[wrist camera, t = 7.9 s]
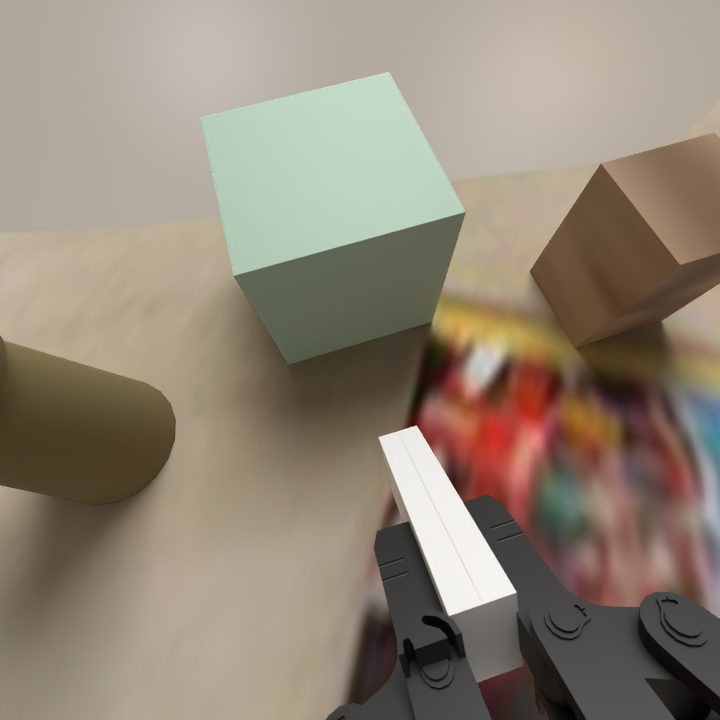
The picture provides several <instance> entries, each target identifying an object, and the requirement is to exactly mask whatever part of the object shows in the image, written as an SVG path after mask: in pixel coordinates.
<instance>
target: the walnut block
mask: <svg viewBox="0 0 720 720" xmlns="http://www.w3.org/2000/svg"><path fill="white" fill-rule="evenodd" d="M530 272H531V274H532V275H533V277H534V279H535V280H536V282H537V284H538V286H539V287H540V289H541V291H542V292H543V294H544V296H545V298H546V299H547V301H548V303H549V304H550V306H551V308H552V310H553V311H554V313H555V315H556V316H557V318H558V320H559V321H560V323H561V325H562V327H563V328H564V330H565V332H566V333H567V335H568V337H569V339H570V340H571V342H572V344H573V345H574V347H575V348H576V347H579V346H582V345H586V344H589V343H592V342H595V341H598V340H602V339H605V338H608V337H611V336H615V335H618V334H621V333H624V332H627V331H631V330H634V329H637V328H640V327H643V326H647V325H650V324H653V323H656V322H659V321H662V320H664V319H665V318H667V317H668V316H670V315H671V314H673V313H674V312H676V311H678V310H679V309H681V308H682V307H684V306H685V305H687V304H688V303H690V302H691V301H693V300H695V299H696V298H698V297H699V296H701V295H702V294H704V293H705V292H707V291H709V290H710V289H712V288H713V287H715V286H716V285H718V284H719V283H720V138H719V137H718V136H717V135H716V134H715V133H712V134H708V135H704V136H700V137H697V138H693V139H689V140H686V141H682V142H678V143H675V144H671V145H667V146H664V147H660V148H656V149H653V150H649V151H645V152H642V153H638V154H634V155H630V156H627V157H623V158H619V159H616V160H612V161H608V162H605V163H601V164H600V166H599V167H598V169H597V170H596V172H595V173H594V175H593V176H592V178H591V179H590V181H589V182H588V184H587V185H586V187H585V188H584V190H583V191H582V193H581V194H580V196H579V198H578V199H577V201H576V202H575V204H574V205H573V207H572V208H571V210H570V211H569V213H568V214H567V216H566V217H565V219H564V220H563V222H562V223H561V225H560V226H559V228H558V229H557V231H556V232H555V234H554V235H553V237H552V238H551V240H550V241H549V243H548V244H547V246H546V247H545V249H544V250H543V252H542V254H541V255H540V257H539V258H538V260H537V261H536V263H535V264H534V266H533V267H532V269H531V270H530Z"/></svg>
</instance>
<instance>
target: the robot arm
mask: <svg viewBox="0 0 720 720" xmlns="http://www.w3.org/2000/svg"><path fill="white" fill-rule="evenodd" d="M378 438H379V442H380V446H381V450H382V453H383V457H384V461H385V465H386V469H387V473H388V477H389V481H390V485H391V489H392V493H393V495H394V498H395V501H396V503H397V506H398V509H399V512H400V514H401V517H402V520H403V523H401V524H398V525H395V526H392V527H389V528H386V529H383V530H380V531H377V535H376V540H375V546H374V550H375V554H376V558H377V562H378V566H379V570H380V574H381V578H382V582H383V586H384V590H385V594H386V598H387V602H388V606H389V610H390V614H391V618H392V622H393V626H394V630H395V634H396V638H397V649H398V654H397V661H396V665H395V668H394V671H393V673H392V674H391V676H390V678H389V680H388V681H387V682H386V683H385V684H384V686H383V687H382V688H381V689H380V690H379V691H378V692H376V693H375V694H374V695H373V696H372V697H371V698H370V699H368V700H367V701H366V702H365V703H364V704H363V705H359V704H354V703H350V704H346V705H343V706H340V707H338V708H337V709H336V710H335V711H334V712H332V713H331V714H330V715H329V716H328V717H327V719H326V720H491V717H490V715H489V712H488V710H487V707H486V705H485V702H484V700H483V697H482V695H481V692H480V690H479V687H478V685H477V683H478V682H480V681H483V680H486V679H489V678H491V677H494V676H497V675H500V674H502V673H505V672H508V671H511V670H513V669H516V668H519V667H522V666H523V658H522V655H523V657H524V659H525V661H526V663H527V664H528V666H529V668H530V670H531V672H532V674H533V676H534V682H535V697H536V704H537V707H538V710H539V713H540V715H543V714H545V710H546V712H547V714H548V716H549V718H550V720H720V619H719V618H717V617H716V616H715V615H713V614H712V613H710V612H709V611H708V610H706V609H705V608H704V607H702V606H700V605H699V604H697V603H695V602H693V601H692V600H690V599H688V598H686V597H683V596H680V595H677V594H673V593H670V592H655V593H653V594H650V595H648V596H646V597H645V598H644V600H643V601H642V603H641V604H640V607H611V606H601V605H595V604H592V603H589V602H586V601H584V600H582V599H580V598H578V597H576V596H575V595H573V594H572V593H571V592H569V591H568V590H567V589H566V588H565V587H564V586H563V585H562V584H561V583H560V582H559V580H558V579H557V578H556V576H555V575H554V574H553V572H552V571H551V569H550V568H549V567H548V565H547V564H546V563H545V561H544V560H543V559H542V557H541V556H540V554H539V553H538V552H537V550H536V549H535V548H534V546H533V545H532V544H531V542H530V541H529V539H528V538H527V537H526V535H524V534H523V531H522V530H521V529H520V527H519V526H518V525H517V523H516V522H514V519H513V518H512V516H511V515H510V514H509V512H508V511H507V510H506V508H505V507H504V505H503V504H501V503H500V502H498V501H497V500H495V499H494V498H492V497H491V496H489V495H485V496H482V497H478V498H475V499H472V500H469V501H466V502H462V500H461V499H460V497H459V495H458V494H457V492H456V490H455V489H454V487H453V485H452V484H451V482H450V480H449V479H448V477H447V475H446V474H445V472H444V470H443V469H442V467H441V465H440V464H439V462H438V460H437V459H436V457H435V455H434V454H433V452H432V450H431V449H430V447H429V445H428V444H427V442H426V440H425V439H424V437H423V435H422V434H421V432H420V430H419V429H418V427H417V426H414V427H410V428H407V429H404V430H400V431H397V432H394V433H391V434H387V435H384V436H381V437H378Z"/></svg>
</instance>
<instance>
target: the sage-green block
mask: <svg viewBox="0 0 720 720" xmlns="http://www.w3.org/2000/svg"><path fill="white" fill-rule="evenodd" d="M200 118H201V123H202V128H203V132H204V137H205V142H206V147H207V151H208V156H209V161H210V165H211V170H212V175H213V180H214V185H215V190H216V194H217V199H218V204H219V209H220V213H221V218H222V223H223V228H224V232H225V237H226V242H227V247H228V251H229V256H230V261H231V266H232V271H233V275H234V277H235V279H236V280H237V282H238V284H239V285H240V287H241V289H242V290H243V292H244V294H245V295H246V297H247V298H248V300H249V302H250V303H251V305H252V307H253V308H254V310H255V311H256V313H257V315H258V316H259V318H260V320H261V321H262V323H263V324H264V326H265V328H266V329H267V331H268V333H269V334H270V336H271V337H272V339H273V341H274V342H275V344H276V346H277V347H278V349H279V350H280V352H281V354H282V355H283V357H284V359H285V360H286V362H287V363H288V365H289V364H292V363H296V362H299V361H302V360H306V359H309V358H313V357H316V356H319V355H323V354H326V353H329V352H333V351H336V350H339V349H343V348H346V347H349V346H353V345H356V344H360V343H363V342H366V341H370V340H373V339H376V338H380V337H383V336H386V335H390V334H393V333H396V332H400V331H403V330H407V329H410V328H413V327H417V326H420V325H423V324H427V323H430V322H432V320H433V317H434V313H435V310H436V307H437V304H438V300H439V297H440V294H441V291H442V287H443V284H444V281H445V278H446V274H447V271H448V268H449V265H450V261H451V258H452V255H453V252H454V248H455V245H456V242H457V239H458V235H459V232H460V229H461V226H462V223H463V219H464V216H465V213H466V211H465V210H464V208H463V206H462V204H461V202H460V200H459V199H458V197H457V195H456V193H455V191H454V189H453V188H452V186H451V184H450V182H449V180H448V179H447V177H446V175H445V173H444V171H443V169H442V168H441V166H440V164H439V162H438V160H437V158H436V157H435V155H434V153H433V151H432V149H431V148H430V146H429V144H428V142H427V140H426V138H425V137H424V135H423V133H422V131H421V130H420V128H419V126H418V124H417V122H416V120H415V118H414V117H413V115H412V113H411V111H410V109H409V107H408V106H407V104H406V102H405V100H404V98H403V97H402V95H401V93H400V91H399V89H398V87H397V86H396V84H395V82H394V80H393V78H392V77H391V75H390V73H389V72H387V73H382V74H378V75H374V76H370V77H366V78H362V79H358V80H353V81H349V82H345V83H341V84H337V85H332V86H329V87H324V88H320V89H316V90H311V91H308V92H303V93H299V94H295V95H291V96H287V97H282V98H278V99H274V100H270V101H266V102H261V103H257V104H253V105H249V106H245V107H241V108H236V109H232V110H228V111H224V112H220V113H216V114H211V115H207V116H203V117H200Z"/></svg>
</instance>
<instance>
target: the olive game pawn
mask: <svg viewBox="0 0 720 720" xmlns="http://www.w3.org/2000/svg"><path fill="white" fill-rule="evenodd" d="M175 422H176V420H175V417H174V413H173V410H172V407H171V404H170V402H169V401H168V400H167V399H166V397H165V396H164V395H163V394H162V393H161V391H159V390H157V389H156V388H154V387H152V386H150V385H148V384H147V383H144V382H140V381H137V380H134V379H130V378H127V377H123V376H120V375H117V374H113V373H110V372H107V371H103V370H100V369H97V368H93V367H90V366H87V365H83V364H80V363H77V362H73V361H70V360H67V359H63V358H60V357H57V356H53V355H50V354H47V353H43V352H40V351H36V350H33V349H30V348H26V347H23V346H20V345H16V344H13V343H10V342H6V341H3V339H2V338H1V336H0V485H2V486H6V487H11V488H16V489H21V490H26V491H31V492H35V493H40V494H45V495H50V496H55V497H60V498H64V499H69V500H74V501H79V502H84V503H89V504H95V505H102V504H108V503H114V502H119V501H121V500H123V499H125V498H127V497H129V496H131V495H133V494H135V493H137V492H139V491H140V490H141V489H142V488H144V487H145V486H146V485H147V484H148V483H149V482H150V481H151V480H153V479H154V478H155V477H156V476H157V474H158V473H159V471H160V470H161V468H162V467H163V465H164V464H165V462H166V461H167V459H168V457H169V454H170V451H171V449H172V446H173V443H174V440H175Z"/></svg>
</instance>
